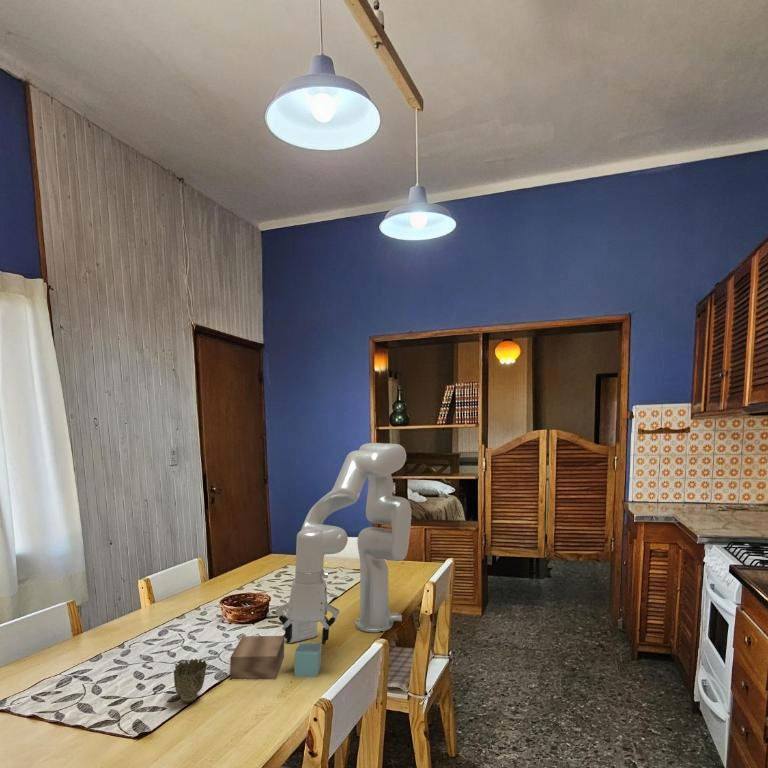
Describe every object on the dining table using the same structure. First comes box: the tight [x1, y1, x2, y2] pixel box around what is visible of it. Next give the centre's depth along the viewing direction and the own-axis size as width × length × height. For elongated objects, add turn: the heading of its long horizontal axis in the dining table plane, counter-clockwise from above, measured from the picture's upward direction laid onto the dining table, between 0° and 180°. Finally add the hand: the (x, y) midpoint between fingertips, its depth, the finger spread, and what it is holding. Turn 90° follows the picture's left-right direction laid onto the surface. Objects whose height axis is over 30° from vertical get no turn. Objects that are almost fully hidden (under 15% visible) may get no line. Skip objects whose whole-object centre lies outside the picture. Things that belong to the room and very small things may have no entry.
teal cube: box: [294, 642, 322, 678], centre depth 129 cm, size 6×6×6 cm
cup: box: [173, 658, 208, 704], centre depth 115 cm, size 8×7×8 cm
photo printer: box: [284, 608, 318, 644], centre depth 148 cm, size 10×4×12 cm, turn 123°
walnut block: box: [229, 635, 285, 681], centre depth 130 cm, size 12×12×6 cm
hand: (306, 641), depth 129 cm, fingers open, 9 cm apart
